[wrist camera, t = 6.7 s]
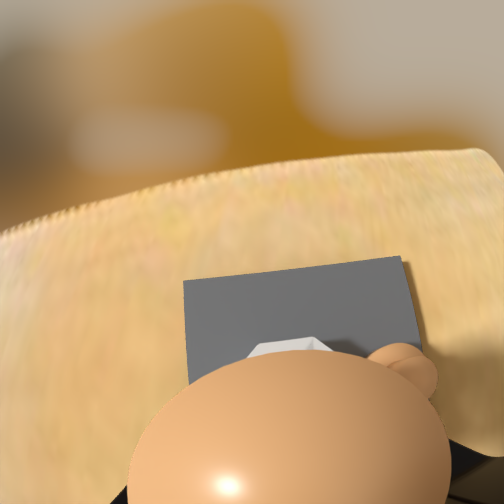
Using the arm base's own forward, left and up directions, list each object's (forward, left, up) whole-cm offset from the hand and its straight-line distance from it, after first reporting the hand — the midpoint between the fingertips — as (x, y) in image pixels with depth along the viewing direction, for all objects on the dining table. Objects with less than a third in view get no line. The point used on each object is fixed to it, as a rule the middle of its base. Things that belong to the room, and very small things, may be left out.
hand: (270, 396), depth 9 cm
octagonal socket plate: (-3, -3, -13) cm, 14 cm away
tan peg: (-1, +1, -7) cm, 7 cm away
